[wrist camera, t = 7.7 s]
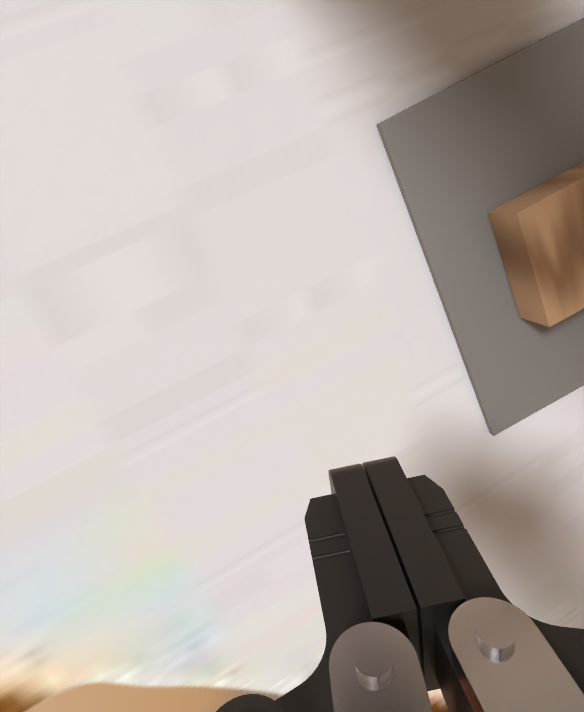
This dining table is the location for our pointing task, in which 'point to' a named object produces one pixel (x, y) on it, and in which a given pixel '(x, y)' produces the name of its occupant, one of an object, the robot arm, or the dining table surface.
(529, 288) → the walnut sign block
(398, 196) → the dining table surface
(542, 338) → the rubber mat
